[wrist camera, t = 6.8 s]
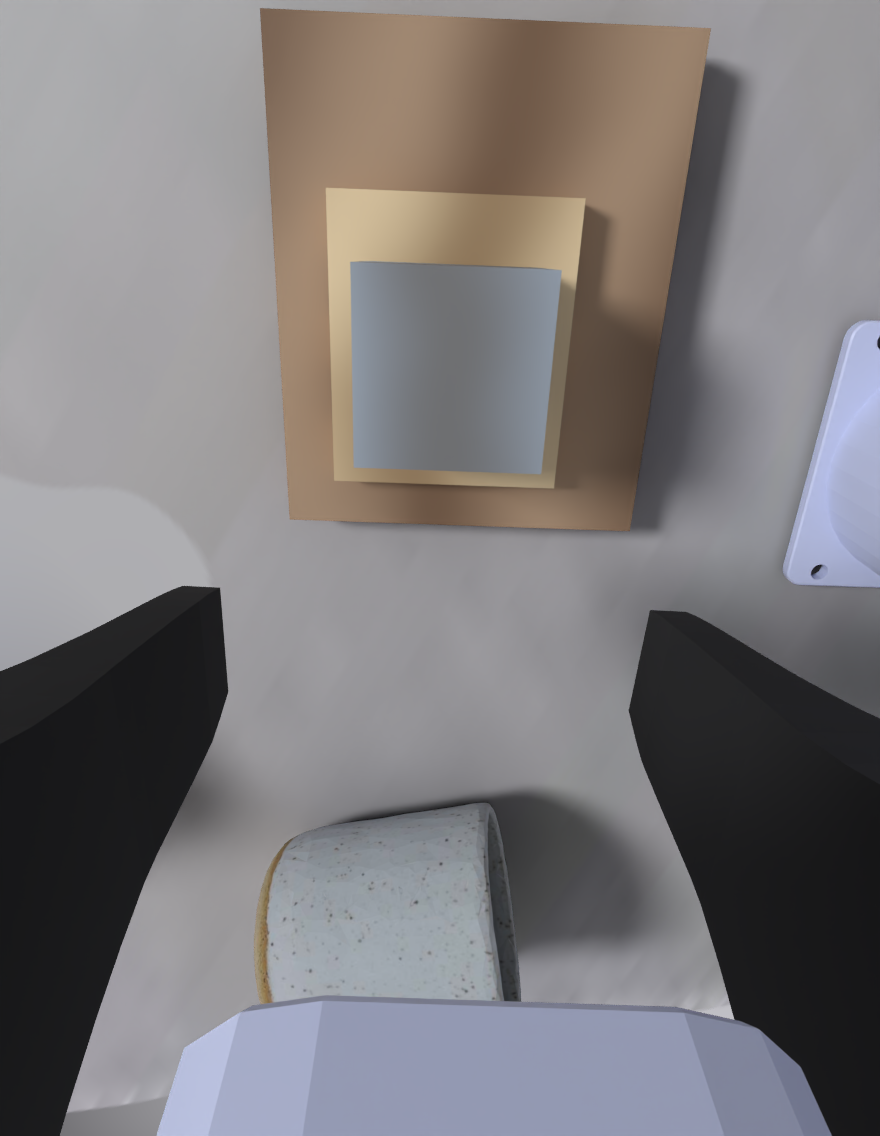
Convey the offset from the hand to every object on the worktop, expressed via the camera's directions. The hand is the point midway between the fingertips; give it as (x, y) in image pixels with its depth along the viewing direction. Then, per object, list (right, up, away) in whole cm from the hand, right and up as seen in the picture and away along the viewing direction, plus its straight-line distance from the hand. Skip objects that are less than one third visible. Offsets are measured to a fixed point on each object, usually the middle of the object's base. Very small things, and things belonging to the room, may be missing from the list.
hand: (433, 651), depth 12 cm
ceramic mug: (-1, -11, +17) cm, 20 cm away
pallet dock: (+1, +9, +7) cm, 12 cm away
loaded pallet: (0, +7, +6) cm, 10 cm away
